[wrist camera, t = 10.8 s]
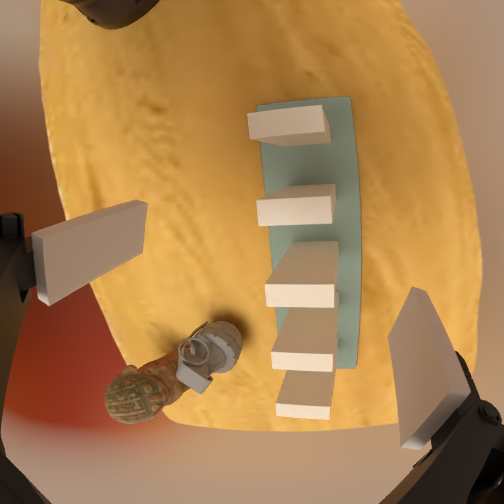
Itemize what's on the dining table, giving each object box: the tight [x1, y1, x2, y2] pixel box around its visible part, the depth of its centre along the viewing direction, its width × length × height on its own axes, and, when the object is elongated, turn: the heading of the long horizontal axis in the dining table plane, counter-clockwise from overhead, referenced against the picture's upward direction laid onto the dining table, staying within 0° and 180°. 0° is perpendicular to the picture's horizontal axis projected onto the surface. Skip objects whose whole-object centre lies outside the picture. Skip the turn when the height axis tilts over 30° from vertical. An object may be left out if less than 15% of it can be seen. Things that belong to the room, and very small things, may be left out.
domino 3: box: [265, 241, 339, 308], centre depth 27 cm, size 2×5×12 cm, turn 96°
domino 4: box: [271, 292, 339, 372], centre depth 29 cm, size 2×5×12 cm, turn 96°
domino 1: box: [247, 105, 332, 147], centre depth 24 cm, size 2×5×12 cm, turn 96°
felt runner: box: [256, 96, 361, 369], centre depth 33 cm, size 32×10×1 cm, turn 6°
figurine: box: [105, 347, 210, 424], centre depth 37 cm, size 8×8×15 cm
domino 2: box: [256, 184, 336, 226], centre depth 25 cm, size 2×5×12 cm, turn 96°
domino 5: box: [276, 337, 338, 420], centre depth 30 cm, size 2×5×12 cm, turn 96°
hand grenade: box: [176, 321, 242, 394], centre depth 35 cm, size 6×6×11 cm
